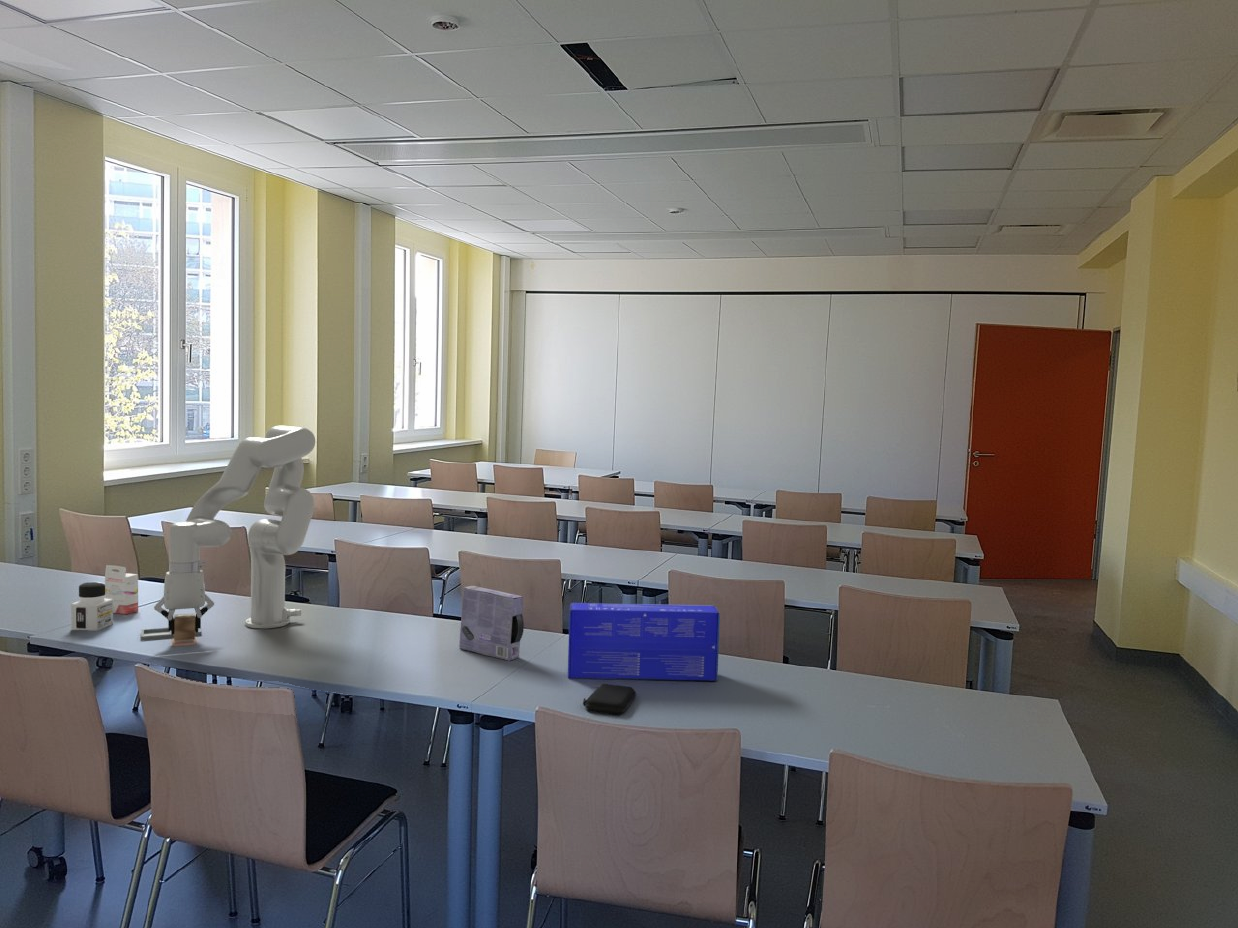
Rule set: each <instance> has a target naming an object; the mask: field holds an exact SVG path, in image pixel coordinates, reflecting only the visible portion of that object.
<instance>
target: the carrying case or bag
mask: <svg viewBox="0 0 1238 928" xmlns="http://www.w3.org/2000/svg"><path fill="white" fill-rule="evenodd" d="M636 695H637V691H636V690H635V689H634V688H633V687H631V686H626V685H625V686H624V685H616V684H610V683H609V684H608V683H603V684H600V686H597V687H596V689H595V690H593V692H592V693H591V695H590V696H588V697H587V699H586V698H585V697H584V698H583V699H582V700H583V701H582V705H583V706H584V707H585V708H586V710H587V711H588V712H591V713H599V714H605V715H612V716H613V715H614V716H620V715H622V714H623V713H624V712H625V711H626V710H627V709H628V707H629V706H630V704H631V703H632V702H633V700H634V699H635V697H636Z"/></svg>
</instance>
